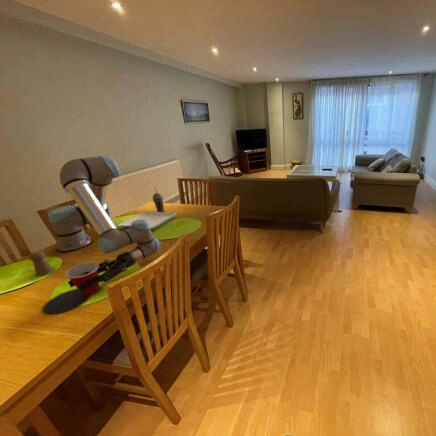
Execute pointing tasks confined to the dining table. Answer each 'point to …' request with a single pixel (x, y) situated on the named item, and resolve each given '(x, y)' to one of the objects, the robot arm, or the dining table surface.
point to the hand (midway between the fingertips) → (74, 286)
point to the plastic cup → (84, 276)
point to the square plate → (149, 219)
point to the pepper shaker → (40, 263)
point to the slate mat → (65, 302)
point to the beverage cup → (158, 201)
